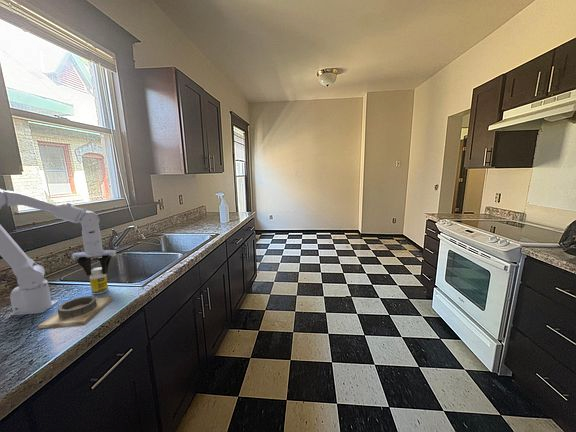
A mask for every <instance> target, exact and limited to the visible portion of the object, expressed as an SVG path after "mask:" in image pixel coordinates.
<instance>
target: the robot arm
mask: <svg viewBox="0 0 576 432" xmlns="http://www.w3.org/2000/svg"><path fill="white" fill-rule="evenodd" d="M6 205H7V207H15V206H24V207H29V208H33V209H36V210H41V211H44V212H48V213H51V214H52V215H53V216H54V218H57V219H60V220H64V221H66V222H67V221H68V222H71V223H74V224H80V225H81V228H82V230H81V235H82V237H81V238H82V242H83V243H82V244H83V249H84V251H81V252H74V253H72V254H71V259H73V260H75V259H77V260H76V262H77V264H79V266H80V267H81V268H82V269H83V271H84V272H85V274H86V275H87V276H88V277H90V276H91V275H92V274H91V270H92V269H93V268H92V258H97V257H99V258H98V261H99V263H100V267H102V272H103V274H106V275H107V274H108V270H109V265H110V262H111V259H112V257H115V256H117V251H116V249H115V250H111V249H104V248H103V241H102V240H103V239H102V234H101V229H100V225H99V223H100V220H101V219H100V217H99V215H98V214H97V213H96V212H94V211H92V210H87V208H81V207H77V206H75V205H72V203H69V202H66V203H63V202H61V203H59V204H55V203H52V202H49V201H46V200H43V199H40V198H37V197H34V196H31V195H28V194H24V193H21V192H17V191H12V190H5V189H3V188H0V210H2V208H3V207H5V206H6ZM0 257H1V258H2V259H3V260H4V261H5V262H6V263H7V264H8V265H9V267H11V270H12V273H13V275H14V276H15V277H16V280H17V281H16V282H17V284H18V286H16V287H14V288H13V289H12V291H11V292H10V295H9V299H10V300H9V301H10V304H11V309H12V313H10V316H20V315H31V314H33V315H34V314H41V313H44V312H45V311H47V310H49V309H50V308H51V307H53V306H55V305H56V304H58V302H59V300H52V298H51V292H50V286H49V281H48V280H47V279H45V277H44V276H45V274H46V269H45V267H44V266H43V265H41V264H39V263H38V264H37V262H36V261H34V260H33V259H32V258H31V257H29V256H28V255H27V253H25V252H24V250H23V249H22V248H21V247H20V245H19V244H18V243H17V242H16V241H15V240H14V238H12V236H11V235H10V234H9V233H8V232H7V230H6V229H5V228H4V227H3V226H2V224H0Z"/></svg>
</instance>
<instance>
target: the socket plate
mask: <svg viewBox="0 0 576 432" xmlns="http://www.w3.org/2000/svg"><path fill="white" fill-rule="evenodd" d="M112 300H113V297H112V296H110V297H109V296H108V297H107V296H106V297H96V296H93V295H86V296H85V295H84V296H80V297H75V298H73V299H69V300H67V301H64V302H63V303H62V304H60V305H58V307H57V311H56V312H54V313H53V314H51V315H50V317H48V318H46V319H45V320H44V321H42V322H41V323H39V324H38V325H37V327H38V329H46V328H55V327H57V328H58V327H69V326H70V327H71V326H80V325H81V326H82V325H85V324H87V323H88V322H89V321H90V320H91V319H92V318H93V317H94V316H96V315H97V314H98V313H99V312H100V311H101V310H102V309H103V308H104V307H106V306H107V304H109V303H110V302H111V301H112Z"/></svg>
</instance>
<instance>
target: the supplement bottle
mask: <svg viewBox="0 0 576 432" xmlns="http://www.w3.org/2000/svg"><path fill="white" fill-rule="evenodd" d="M91 269H92V270H91V274H90V275H89V285H90V290H91V294H93V295H101V294H104V293H105V292H107V291H108V290H109V286H108V277H107V273H106V274H103V272H102V266H100V267H98V266H97V267H93V268H91Z"/></svg>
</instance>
